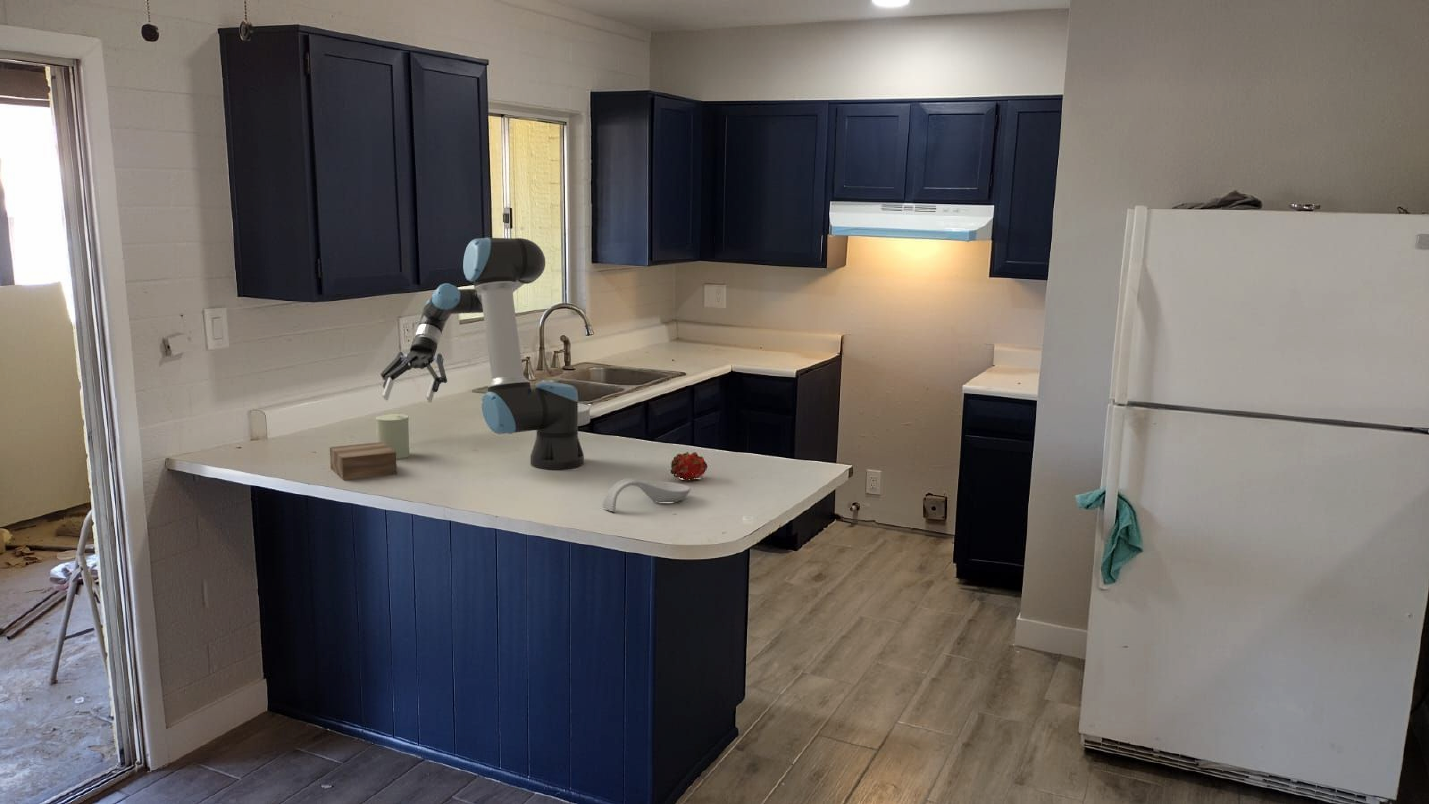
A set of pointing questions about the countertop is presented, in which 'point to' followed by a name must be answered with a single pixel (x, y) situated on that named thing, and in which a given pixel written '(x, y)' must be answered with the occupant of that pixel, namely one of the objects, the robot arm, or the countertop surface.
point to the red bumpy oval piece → (688, 466)
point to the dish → (583, 414)
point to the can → (394, 433)
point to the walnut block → (363, 460)
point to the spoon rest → (647, 491)
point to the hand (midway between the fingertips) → (406, 398)
